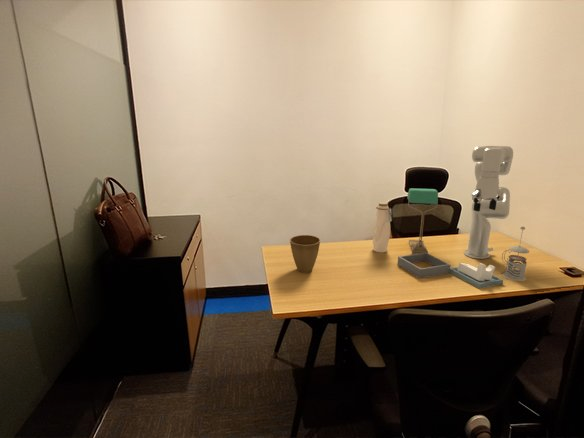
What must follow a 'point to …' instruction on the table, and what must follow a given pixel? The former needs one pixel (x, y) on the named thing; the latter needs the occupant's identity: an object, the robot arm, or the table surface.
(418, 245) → the banker's lamp
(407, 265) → the bin
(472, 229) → the robot arm
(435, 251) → the table surface
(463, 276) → the tray
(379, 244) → the water bottle
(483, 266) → the bracket
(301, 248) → the plant pot
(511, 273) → the french press
